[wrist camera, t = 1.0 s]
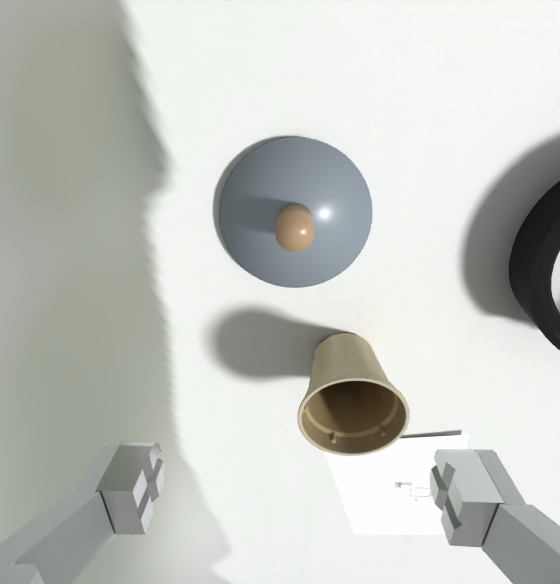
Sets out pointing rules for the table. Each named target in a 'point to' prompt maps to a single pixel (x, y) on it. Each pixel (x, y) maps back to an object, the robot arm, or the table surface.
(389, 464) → the paper sheet
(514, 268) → the headphones
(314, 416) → the flower pot
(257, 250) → the lid
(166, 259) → the table surface
